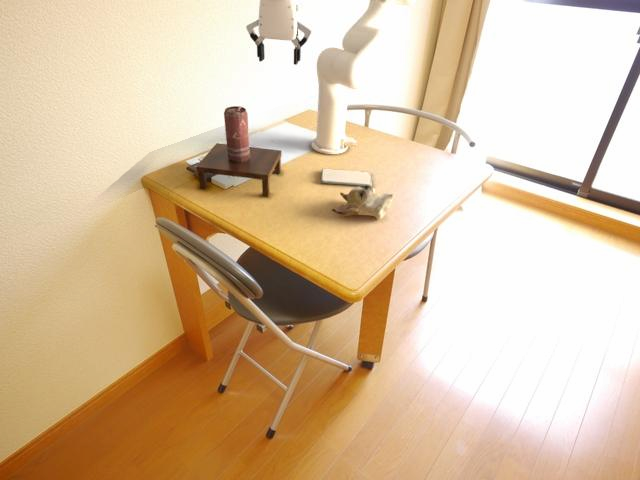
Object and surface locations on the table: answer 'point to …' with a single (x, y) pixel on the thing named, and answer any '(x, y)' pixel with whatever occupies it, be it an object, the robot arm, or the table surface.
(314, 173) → the table surface
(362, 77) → the robot arm
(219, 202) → the table surface
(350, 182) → the smartphone
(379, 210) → the ceramic sculpture
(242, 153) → the can
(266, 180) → the side table
